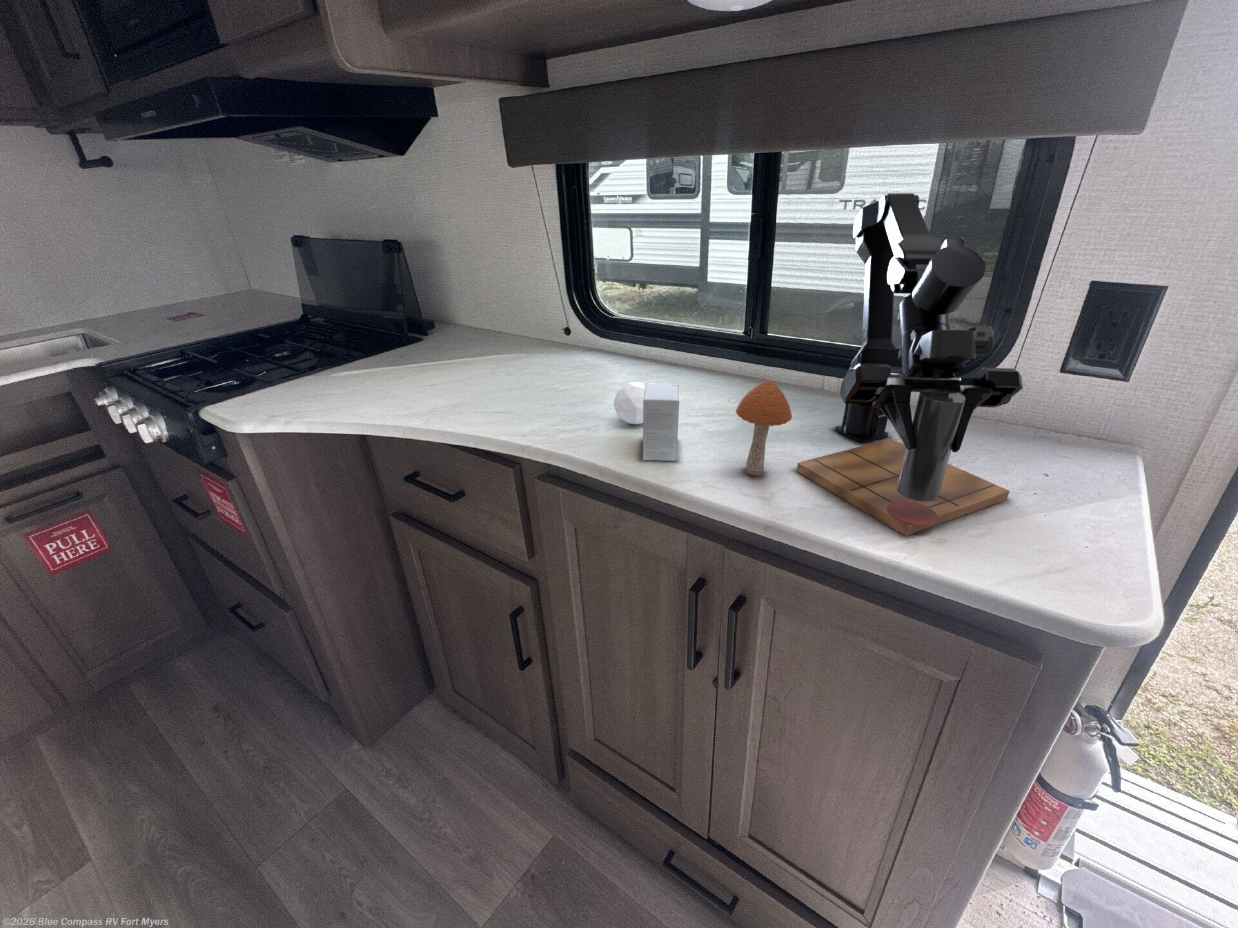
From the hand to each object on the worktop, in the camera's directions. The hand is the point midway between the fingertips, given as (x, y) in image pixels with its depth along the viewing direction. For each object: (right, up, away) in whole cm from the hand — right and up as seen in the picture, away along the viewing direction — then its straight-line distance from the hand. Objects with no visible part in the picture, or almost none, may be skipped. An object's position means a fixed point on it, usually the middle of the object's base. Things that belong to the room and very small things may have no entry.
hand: (933, 450), depth 67 cm
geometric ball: (-35, +6, +38) cm, 52 cm away
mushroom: (-16, -3, +19) cm, 25 cm away
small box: (-31, 0, +27) cm, 41 cm away
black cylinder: (0, -5, +4) cm, 7 cm away
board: (+3, -5, +15) cm, 16 cm away
